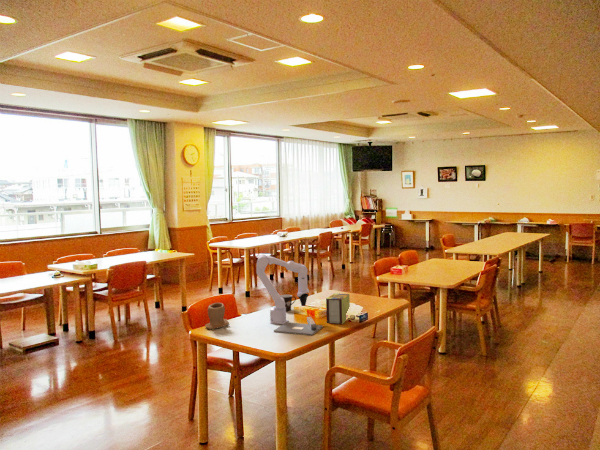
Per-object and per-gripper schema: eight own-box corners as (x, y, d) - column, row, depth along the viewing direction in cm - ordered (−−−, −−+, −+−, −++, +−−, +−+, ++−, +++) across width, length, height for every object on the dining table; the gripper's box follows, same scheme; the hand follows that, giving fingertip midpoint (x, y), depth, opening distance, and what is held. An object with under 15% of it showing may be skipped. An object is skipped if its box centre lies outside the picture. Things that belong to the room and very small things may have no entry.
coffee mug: (280, 312, 340) (280, 297, 339) (279, 309, 348) (278, 294, 347) (297, 311, 341) (297, 296, 340) (296, 308, 350) (295, 293, 349)
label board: (273, 332, 294) (273, 330, 294) (286, 323, 310) (286, 322, 310) (312, 335, 284) (311, 333, 284) (322, 327, 301) (322, 325, 301)
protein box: (350, 318, 320) (349, 294, 318) (342, 324, 306) (341, 299, 304) (334, 316, 324) (334, 293, 323) (326, 323, 310) (325, 298, 309)
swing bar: (316, 329, 291) (316, 324, 291) (311, 330, 291) (311, 325, 290) (311, 321, 309) (311, 316, 309) (306, 321, 309) (306, 316, 309)
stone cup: (212, 331, 298) (211, 307, 297) (202, 327, 307) (201, 303, 306) (234, 326, 307) (233, 302, 306) (224, 323, 317) (223, 299, 315)
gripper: (304, 286, 305) (305, 308, 306) (313, 282, 319) (313, 303, 320) (293, 286, 308) (294, 308, 309) (302, 281, 321) (303, 302, 322)
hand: (303, 305), depth 315 cm, fingers closed
